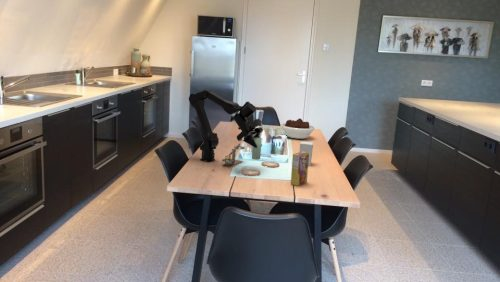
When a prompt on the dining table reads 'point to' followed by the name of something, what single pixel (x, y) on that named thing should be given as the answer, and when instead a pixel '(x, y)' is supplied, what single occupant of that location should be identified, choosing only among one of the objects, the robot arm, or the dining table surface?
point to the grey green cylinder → (257, 151)
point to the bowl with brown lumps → (297, 129)
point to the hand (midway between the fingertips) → (259, 146)
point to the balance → (233, 157)
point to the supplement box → (307, 149)
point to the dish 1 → (250, 172)
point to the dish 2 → (270, 164)
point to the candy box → (299, 168)
